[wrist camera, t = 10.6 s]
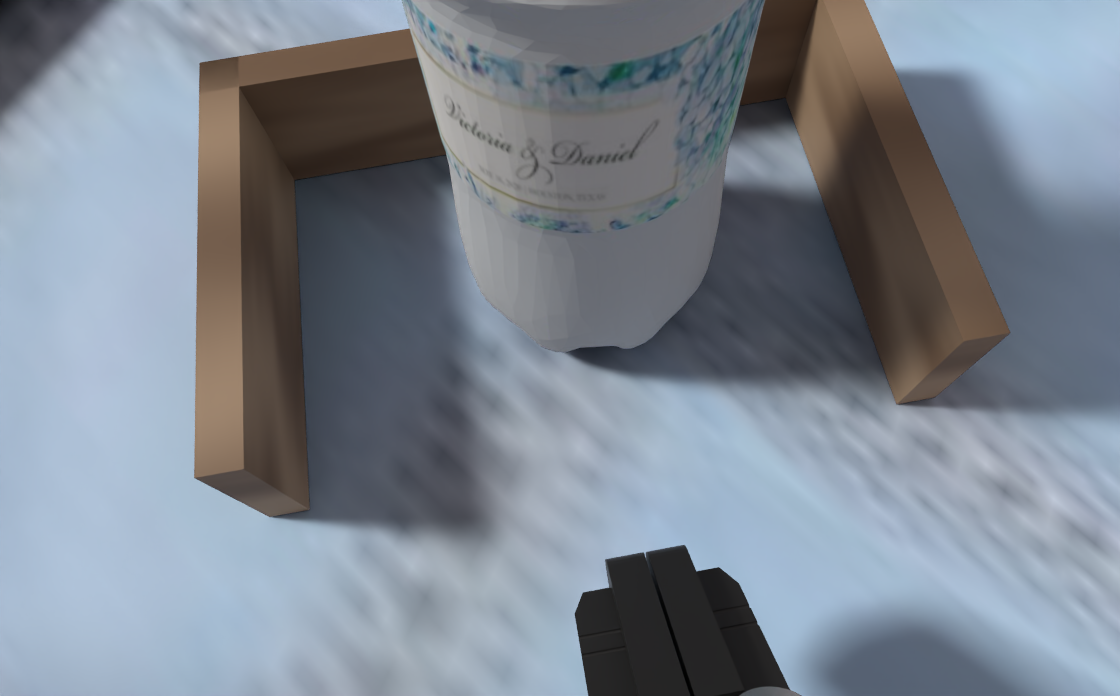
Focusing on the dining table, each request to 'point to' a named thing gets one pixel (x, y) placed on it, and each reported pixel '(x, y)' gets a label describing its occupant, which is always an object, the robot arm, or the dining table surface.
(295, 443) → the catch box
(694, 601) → the robot arm
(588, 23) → the bottle
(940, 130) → the dining table surface
